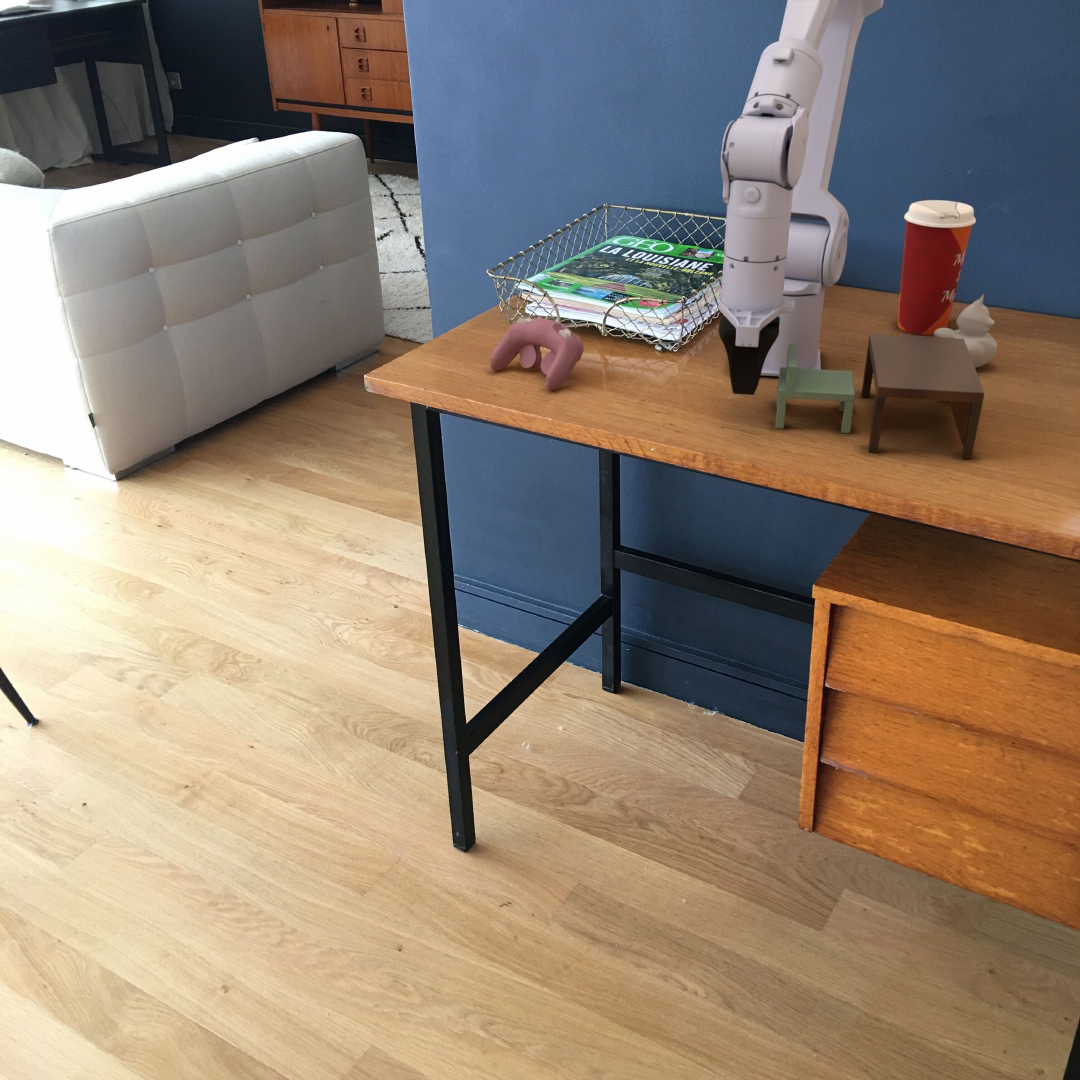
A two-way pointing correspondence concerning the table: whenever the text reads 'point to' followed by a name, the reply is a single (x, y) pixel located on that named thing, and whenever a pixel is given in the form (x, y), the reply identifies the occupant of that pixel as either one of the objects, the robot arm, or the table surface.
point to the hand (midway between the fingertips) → (743, 391)
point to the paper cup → (932, 263)
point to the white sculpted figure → (974, 332)
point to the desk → (924, 380)
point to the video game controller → (527, 343)
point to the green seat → (814, 388)
